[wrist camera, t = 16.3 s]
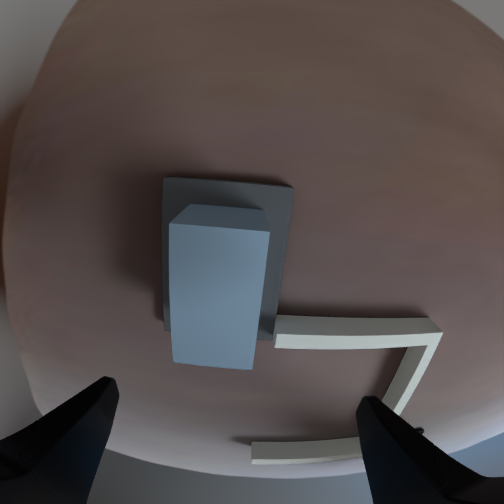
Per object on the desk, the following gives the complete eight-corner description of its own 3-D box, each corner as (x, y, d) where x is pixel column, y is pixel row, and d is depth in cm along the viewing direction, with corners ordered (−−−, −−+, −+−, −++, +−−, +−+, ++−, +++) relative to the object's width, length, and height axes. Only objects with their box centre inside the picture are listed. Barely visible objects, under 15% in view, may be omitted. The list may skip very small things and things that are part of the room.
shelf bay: (366, 440, 28) (371, 455, 25) (250, 446, 27) (251, 463, 25) (429, 317, 22) (443, 332, 19) (274, 314, 21) (277, 333, 19)
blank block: (264, 209, 17) (270, 231, 13) (251, 322, 20) (252, 370, 15) (190, 203, 17) (168, 223, 13) (188, 316, 20) (173, 362, 15)
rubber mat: (271, 333, 22) (272, 340, 21) (167, 323, 21) (164, 330, 20) (291, 186, 18) (294, 188, 17) (167, 176, 18) (162, 178, 17)
